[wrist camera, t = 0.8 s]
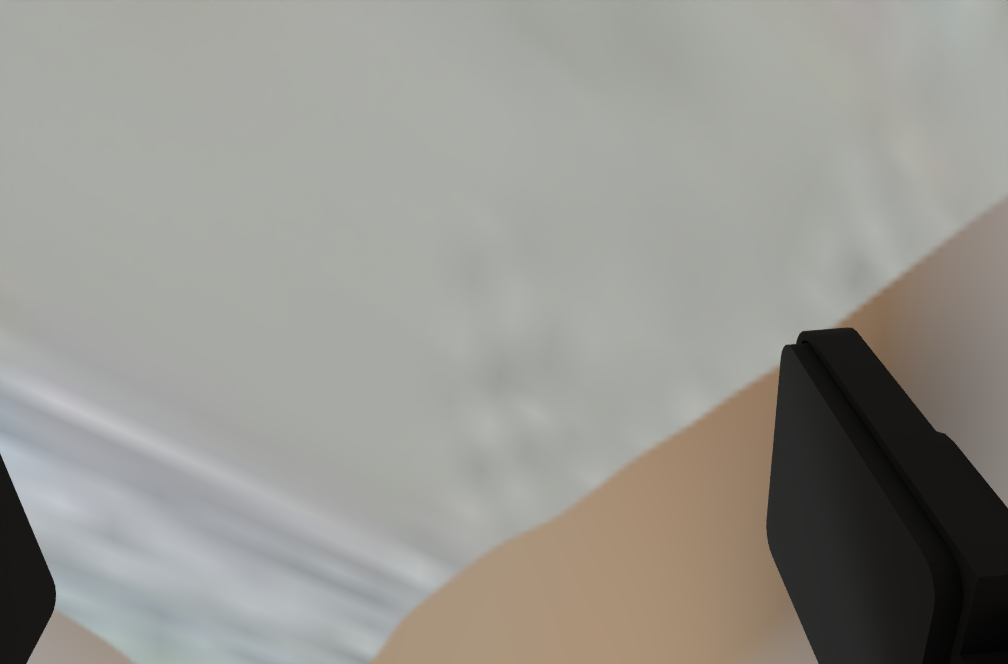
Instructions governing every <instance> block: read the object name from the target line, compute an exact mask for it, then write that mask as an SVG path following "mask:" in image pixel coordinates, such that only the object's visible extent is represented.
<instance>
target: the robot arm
mask: <svg viewBox="0 0 1008 664" xmlns="http://www.w3.org/2000/svg"><path fill="white" fill-rule="evenodd" d="M766 528H767V537H768V544H769V547H770V551H771V554H772V557H773V558H774V561H775V563H776V566H777V568H778V570H779V573H780V575H781V577H782V579H783V582H784V584H785V587H786V589H787V591H788V594H789V596H790V598H791V601H792V603H793V605H794V608H795V610H796V612H797V614H798V617H799V619H800V621H801V624H802V626H803V628H804V631H805V633H806V635H807V638H808V640H809V642H810V645H811V647H812V649H813V651H814V654H815V656H816V659H817V661H818V663H819V664H1008V508H1007V507H1006V506H1005V504H1004V503H1003V502H1002V501H1001V499H1000V498H999V497H998V496H997V494H996V493H995V492H994V491H993V489H992V488H991V487H990V486H989V485H988V483H987V482H986V481H985V480H984V478H983V477H982V476H981V475H980V473H979V472H978V471H977V470H976V469H975V467H974V466H973V465H972V464H971V463H970V461H969V460H968V459H967V457H966V456H965V455H964V454H963V452H962V451H961V450H960V449H959V448H958V446H957V445H956V444H955V443H954V442H953V441H952V440H951V439H950V438H949V437H948V436H947V435H946V434H944V433H940V432H937V431H936V430H935V429H934V428H933V427H932V426H931V424H930V423H929V422H928V420H927V419H926V418H925V417H924V415H923V414H922V413H921V412H920V411H919V409H918V408H917V407H916V405H915V404H914V403H913V402H912V401H911V399H910V398H909V397H908V395H907V394H906V393H905V391H904V390H903V389H902V388H901V386H900V385H899V384H898V383H897V381H896V380H895V379H894V378H893V376H892V375H891V374H890V373H889V371H888V370H887V369H886V368H885V366H884V365H883V364H882V363H881V361H880V360H879V359H878V358H877V356H876V355H875V354H874V353H873V351H872V350H871V349H870V347H869V346H868V345H867V344H866V342H865V341H864V340H863V339H862V337H861V336H860V335H859V334H858V332H857V331H856V330H854V329H853V328H836V329H824V330H812V331H802V332H801V333H800V334H799V336H798V339H797V342H796V344H791V345H785V346H784V348H783V350H782V354H781V362H780V374H779V386H778V396H777V409H776V420H775V431H774V443H773V453H772V465H771V476H770V488H769V499H768V510H767V525H766ZM55 601H56V590H55V584H54V581H53V578H52V576H51V573H50V571H49V569H48V566H47V564H46V562H45V559H44V557H43V554H42V552H41V550H40V547H39V545H38V543H37V540H36V538H35V535H34V533H33V531H32V528H31V526H30V523H29V521H28V519H27V516H26V514H25V512H24V509H23V507H22V504H21V502H20V500H19V497H18V495H17V493H16V490H15V488H14V485H13V483H12V481H11V478H10V476H9V474H8V471H7V469H6V466H5V464H4V462H3V459H2V457H1V454H0V664H26V663H27V661H28V659H29V657H30V655H31V653H32V651H33V649H34V648H35V646H36V644H37V642H38V640H39V638H40V636H41V634H42V633H43V630H44V629H45V627H46V625H47V623H48V621H49V619H50V617H51V615H52V613H53V610H54V606H55Z"/></svg>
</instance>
